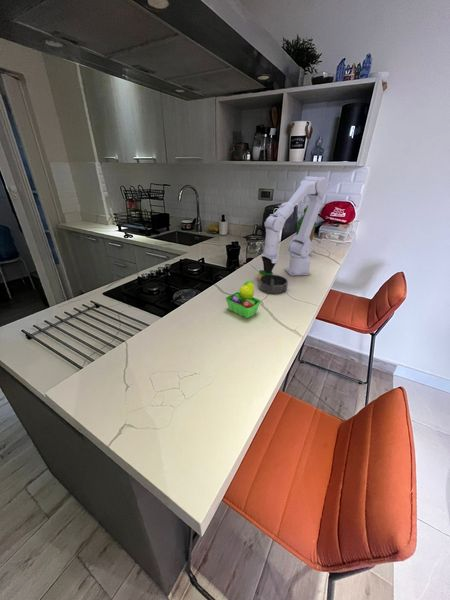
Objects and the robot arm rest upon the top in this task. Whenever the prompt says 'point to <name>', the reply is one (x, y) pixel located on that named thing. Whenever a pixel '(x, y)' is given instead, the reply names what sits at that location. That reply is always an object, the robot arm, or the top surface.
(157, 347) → the top surface
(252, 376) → the top surface
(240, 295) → the fruit basket
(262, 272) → the sponge
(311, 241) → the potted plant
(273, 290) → the pan
